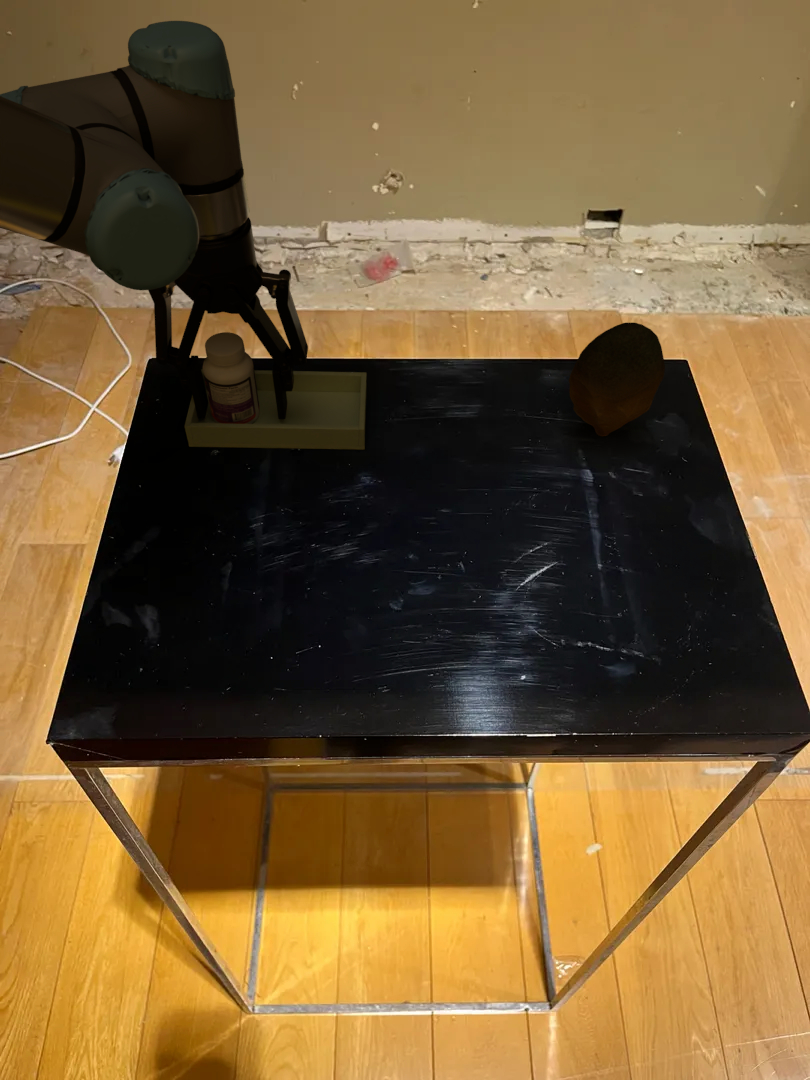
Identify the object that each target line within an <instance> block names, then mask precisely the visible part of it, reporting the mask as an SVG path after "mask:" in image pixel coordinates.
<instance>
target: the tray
mask: <svg viewBox="0 0 810 1080" xmlns="http://www.w3.org/2000/svg"><path fill="white" fill-rule="evenodd" d="M201 371H202V376H203V380H204V385H205V389H206V384H205V379H204V374H203V368H201ZM254 372H255V379H256V386H257V393H258V400H259V409H260V412H259V416H258V418H257V419H256V420H255V422H253V423H252V424H224V423H216V422H215V421H214V419H213V417H212V414H211V409H210V404H209V399H208V406H207V411H206V415H205V418H198V416H197V412H196V408H195V404H194V399H193V395H192V394H191V397H190V401H189V406H188V411H187V414H186V418H185V422H184V431H185V434H186V439H187V443H188V447H190V448H245V449H246V448H247V449H250V448H252V449H301V450H303V449H305V450H306V449H310V450H357V451H358V450H364V451H365V450H366V448H365V447H366V422H367V420H366V419H367V396H368V395H367V392H368V391H367V390H368V389H367V388H368V387H367V385H368V384H367V382H368V381H367V372H364V371H363V372H360V371H359V372H357V371H313V370H312V371H311V370H310V371H305V370H293V374H294V385H293V389H292V391H286V395H287V410H286V418H285V419H278V411H277V404H276V397H275V389H274V382H273V375H272V370H257V369H256V370H255V369H254ZM206 394H207V389H206ZM207 398H208V394H207Z"/></svg>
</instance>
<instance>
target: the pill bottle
mask: <svg viewBox="0 0 810 1080" xmlns="http://www.w3.org/2000/svg"><path fill="white" fill-rule="evenodd" d="M204 349H205V354H206V355H205V356H206V357H205V358H204V360H203V363H202V369H203V374H204V379H205V384H206V389H207V394H208V399H209V404H210V409H211V414H212V417H213V419H214V421H215V422H216V423H224V424H252V423H253V422H255V420H256V419H257V418H258V416H259V412H260V409H259V400H258V393H257V386H256V379H255V372H254V370H255V365H254V361H253V359H252V357H251V355H250V354H249V353H247V351H246V348H245V343H244V339H243V337H241V336H240V335H239V334H237V333H234V332H228V331H225V332H224V331H222V332H218V333H215V334H213V335H211V336H209V337H208V338H207V339H206V341H205V343H204Z"/></svg>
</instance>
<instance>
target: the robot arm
mask: <svg viewBox="0 0 810 1080" xmlns="http://www.w3.org/2000/svg"><path fill="white" fill-rule="evenodd" d="M127 49H128V56H127V61H128V65H126V66H123V67H117V68H116V69H115V70H110V71H106V72H101V73H96V74H90V75H85V76H80V77H79V76H78V77H75V78H69V79H63V80H58V81H53V82H48V83H43V84H38V85H37V84H36V85H32V86H28V85H21V86H19V87H18V88H17V89H13V90H10V91H6V92H3V93H0V229H2V230H6V231H9V232H12V233H15V234H19V235H22V236H24V237H25V236H26V237H29V238H32V239H35V240H39V241H42V242H45V243H49V244H52V245H54V246H57V247H60V248H63V249H67V250H70V251H73V252H76V253H80V254H83V255H86V256H88V257H89V259H90V261H91V263H92V264H93V266H94V267H96V268H97V269H98V270H100V271H101V272H103V273H104V274H105V275H106V276H107V277H108V278H109V279H110V280H112V281H113V282H115V283H116V284H117V285H119V286H122V287H124V288H127V289H130V290H135V291H148V293H149V295H150V298H151V300H152V302H153V313H154V315H153V316H154V339H155V340H154V341H155V361H156V363H157V364H159V365H161V366H165V365H167V364H169V365H172V366H174V367H175V368H176V370H177V374H178V377H179V382H180V385H181V388H182V389H183V391H184V392H191V396H192V395H193V399H194V404H195V408H196V412H197V416H198V418H205V415H206V411H207V406H208V398H207V394H206V389H205V385H204V380H203V376H202V371H201V369H202V367H201V361H200V358H199V355H192V354H191V353H192V352H193V351H192V350H193V347H194V345H195V342H196V338H197V336H198V333H199V330H200V327H201V323H202V321H203V318H204V315H205V313H207V314H209V315H210V314H216V315H217V314H220V313H227V314H230V315H236V314H237V315H239V316H240V318H241V319H242V321H243V322H244V324H248V326H249V327H250V328H251V330H252V331H253V333H254V334H255V335H256V337H257V339H258V340H259V342H260V343H261V345H262V346H263V347H264V348H265V350H266V352H267V354H269V356H270V357H271V359H272V361H273V364H272V370H271V371H272V375H273V382H274V389H275V397H276V404H277V411H278V419H285V418H286V410H287V395H286V391H292V389H293V385H294V374H293V371H294V366H300V367H302V366H305V365H306V364H307V362H308V361H307V359H308V351H309V345H308V343H307V338H306V336H305V333H304V330H303V327H302V323H301V321H300V317H299V315H298V314H299V313H298V311H297V309H296V305H295V302H294V298H293V296H292V292H291V283H292V282H291V281H292V273H291V272H290V271H289V270H288V269H281V270H280V271H279V272H278V273H273V272H267V271H264V270H263V268H262V267H261V265H260V264H259V262H258V260H257V256H256V255H257V254H256V250H255V242H254V233H253V226H252V221H251V219H250V203H249V197H248V190H247V183H246V177H245V169H244V165H243V161H242V152H241V143H240V136H239V135H240V134H239V128H238V127H239V126H238V125H239V124H238V118H237V109H236V101H235V100H236V99H235V98H236V91H235V88H234V85H233V79H232V75H231V74H232V73H231V69H230V62H229V59H228V56H227V51H226V47H225V44H224V41H223V40H222V37H220V36H219V34H218V33H217V32H215V31H214V30H213V29H212V28H210V27H209V26H207V25H204V24H202V23H198V22H194V21H189V20H188V21H186V20H165V21H157V22H154V23H150V24H148V25H147V26H146V27H142V28H138V29H136V30H135V31H134V32H132V34H131V35H130V36H129V38H128V41H127ZM175 287H178V289H180V290H181V291H182V292H183V293H184V294H185V295H186V296H187V297H188V298H189V299H190V300H191V301H192V302H193V303H192V306H191V308H190V309H191V310H190V312H189V316H188V319H187V322H186V325H185V328H184V331H183V334H182V337H181V340H180V344H179V347H176V346H173V325H172V324H173V323H172V321H173V320H172V319H173V317H172V296H173V294H174V291H175ZM261 287H265V288H266V289H267V292H268V294H269V296H270V298H271V299H273V300H275V306H276V311H277V314H278V316H279V319H280V322H281V325H282V328H283V331H284V334H285V337H286V340H287V342H288V343H287V342H286V340H285V339H284V337H283V336H282V335H281V333H280V332H279V330H278V327H276V325H275V324H274V322H273V321H272V320H271V318H270V316H269V315H268V313H267V312H266V310H265V308H264V307H263V305H262V303H261V300H260V298H259V296H258V295H257V294H258V292H259V291H260V289H261Z"/></svg>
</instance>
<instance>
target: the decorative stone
mask: <svg viewBox="0 0 810 1080" xmlns="http://www.w3.org/2000/svg"><path fill="white" fill-rule="evenodd" d="M665 370H666V365H665V358H664V353H663V347H662V345H661V342H660V339H659V337H658V335H657V334H656V333H655V332H654V331H653V330H652V329H651V328H649V327H647V326H646V325H643V323H637V322H622V323H619V324H616V325H615V326H613V327H610V328H608V329H606V330H604V331H602V333H600V334H599V335H598V336H596V337H595V338H593V339H592V340H591V341H590V342H589V343H588V344H586V346H585V347H584V348H583V350H582V351H581V352H580V354H579V356H578V357H577V360H576V361H575V363H574V366H573V368H572V370H571V372H570V374H569V378H568V383H569V388H568V389H569V390H568V391H569V393H568V394H569V399H570V400H571V402H572V404H573V408H572V410H573V412H574V413H575V414H576V415H577V416H578V417H579V418H580V419H581V420H582V421H583V422H584V423H586V424H587V425H590V426H592V427H593V429H594V432H595V434H596V435H597V436H599V437H606V436H609V435H610V434H611V433H613V432H615V431H617V430H618V429H620V428H622V427H624V426H625V425H626V424H628V423H630V422H632V421H634V420H635V419H637V418H639V417H640V416H642V415H643V414H645V413H647V411H649V410H650V409H651V406H652V405H653V404H652V403H653V400H654V398H655V395H656V393H657V391H658V389H659V387H660V384H661V383H662V381H663V379H664V376H665V373H666V372H665Z"/></svg>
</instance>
